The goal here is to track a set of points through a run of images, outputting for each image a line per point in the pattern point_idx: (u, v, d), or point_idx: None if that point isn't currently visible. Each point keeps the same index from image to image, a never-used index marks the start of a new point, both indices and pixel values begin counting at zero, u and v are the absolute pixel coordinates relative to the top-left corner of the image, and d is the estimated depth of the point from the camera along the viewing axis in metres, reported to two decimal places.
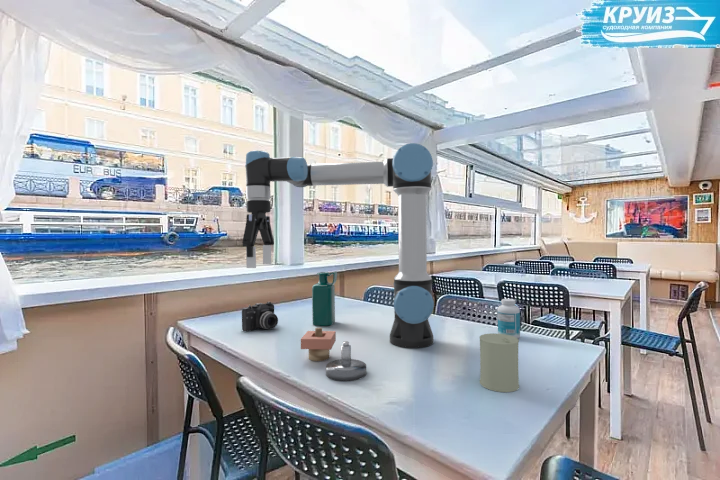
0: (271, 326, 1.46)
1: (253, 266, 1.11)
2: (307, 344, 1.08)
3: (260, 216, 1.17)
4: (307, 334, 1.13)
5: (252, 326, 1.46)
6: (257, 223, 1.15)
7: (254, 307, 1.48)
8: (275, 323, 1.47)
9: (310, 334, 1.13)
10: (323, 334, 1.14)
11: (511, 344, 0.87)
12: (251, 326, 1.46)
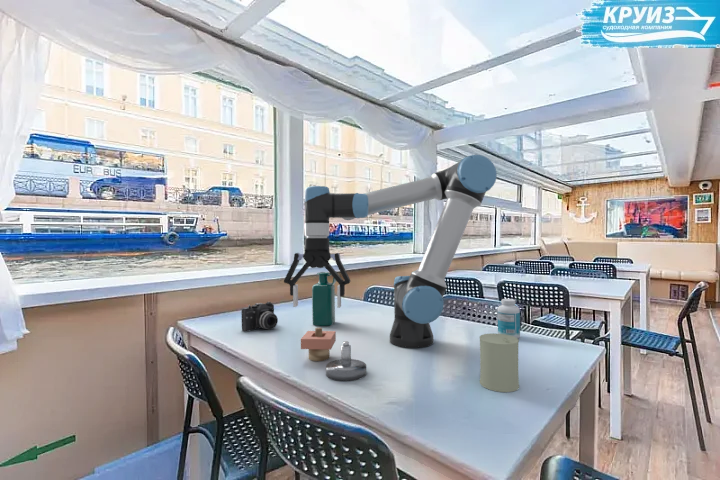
0: (271, 326, 1.46)
1: None
2: (307, 344, 1.08)
3: (311, 254, 1.11)
4: (307, 334, 1.13)
5: (252, 326, 1.46)
6: None
7: (254, 307, 1.48)
8: (275, 323, 1.47)
9: (310, 334, 1.13)
10: (323, 334, 1.14)
11: (511, 344, 0.87)
12: (251, 326, 1.46)
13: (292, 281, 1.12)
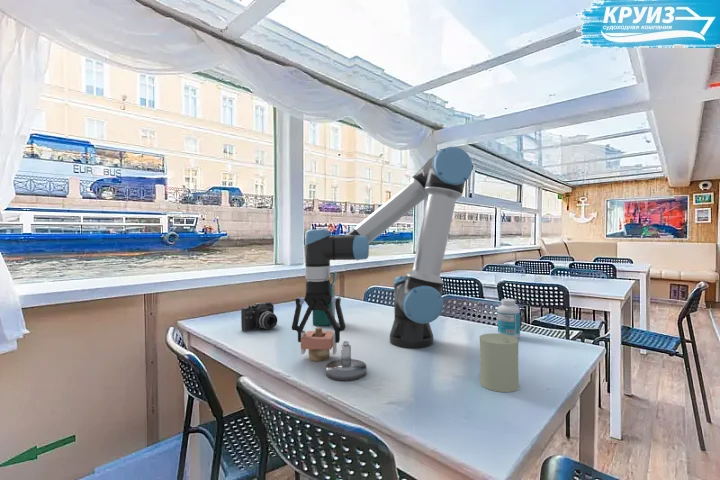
0: (270, 326, 1.46)
1: None
2: (307, 344, 1.08)
3: (312, 297, 1.11)
4: (307, 334, 1.13)
5: (251, 326, 1.46)
6: None
7: (253, 307, 1.48)
8: (274, 323, 1.47)
9: (310, 334, 1.13)
10: (323, 334, 1.14)
11: (511, 344, 0.87)
12: (250, 326, 1.46)
13: (299, 328, 1.12)
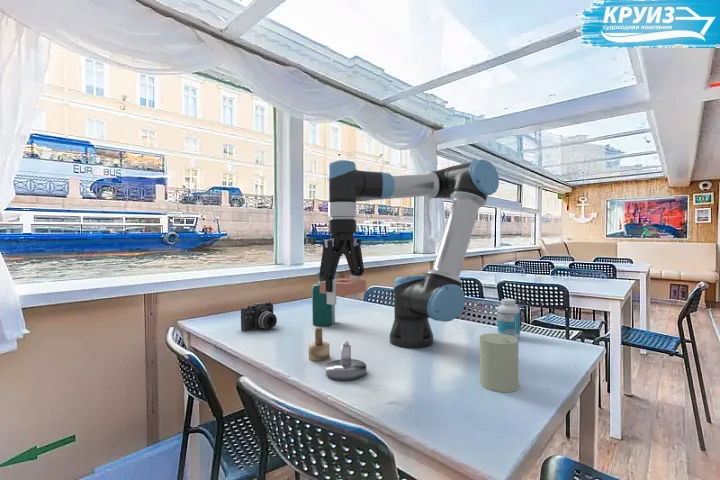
0: (270, 326, 1.46)
1: (333, 303, 0.95)
2: (350, 289, 0.95)
3: (341, 238, 0.98)
4: None
5: (251, 326, 1.47)
6: (338, 248, 0.97)
7: (253, 307, 1.48)
8: (274, 323, 1.48)
9: (337, 282, 0.98)
10: (339, 281, 1.02)
11: (511, 344, 0.87)
12: (250, 326, 1.46)
13: (332, 274, 0.94)
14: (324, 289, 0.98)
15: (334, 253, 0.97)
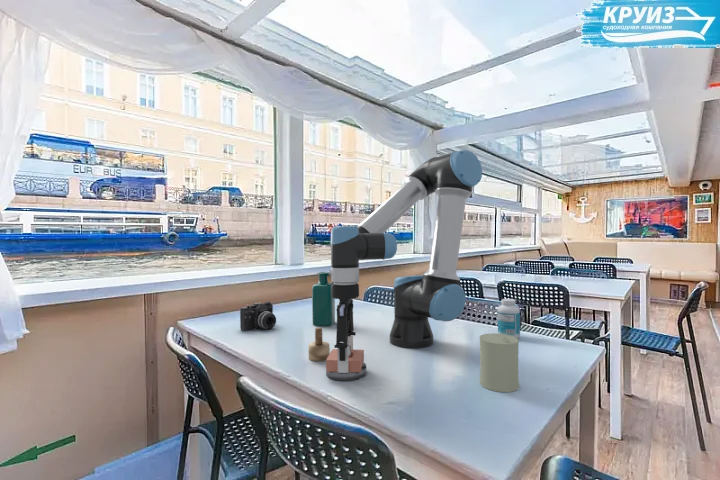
0: (269, 326, 1.46)
1: (346, 371, 0.94)
2: (361, 363, 0.97)
3: (348, 303, 0.97)
4: None
5: (250, 325, 1.47)
6: (346, 314, 0.96)
7: (252, 307, 1.49)
8: (273, 323, 1.48)
9: None
10: None
11: (511, 344, 0.87)
12: (249, 325, 1.47)
13: (347, 342, 0.93)
14: (332, 367, 0.95)
15: None
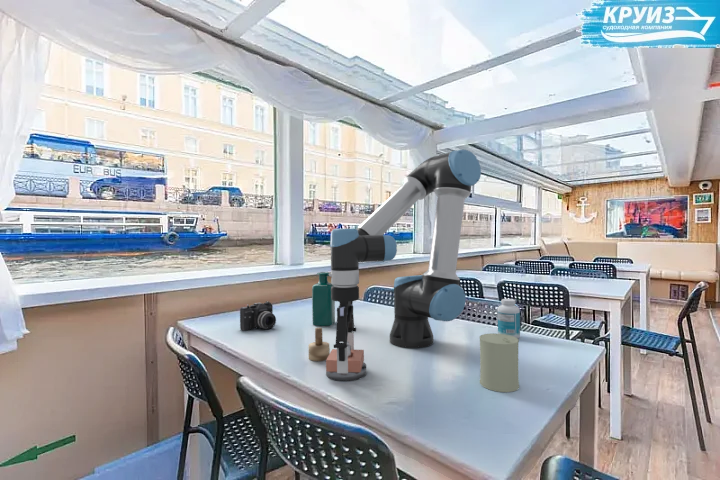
0: (269, 326, 1.46)
1: (345, 371, 0.92)
2: (361, 363, 0.97)
3: (348, 305, 0.98)
4: None
5: (250, 325, 1.47)
6: (346, 315, 0.96)
7: (252, 307, 1.49)
8: (273, 323, 1.48)
9: None
10: None
11: (511, 344, 0.87)
12: (249, 325, 1.47)
13: (346, 342, 0.92)
14: (332, 367, 0.95)
15: None
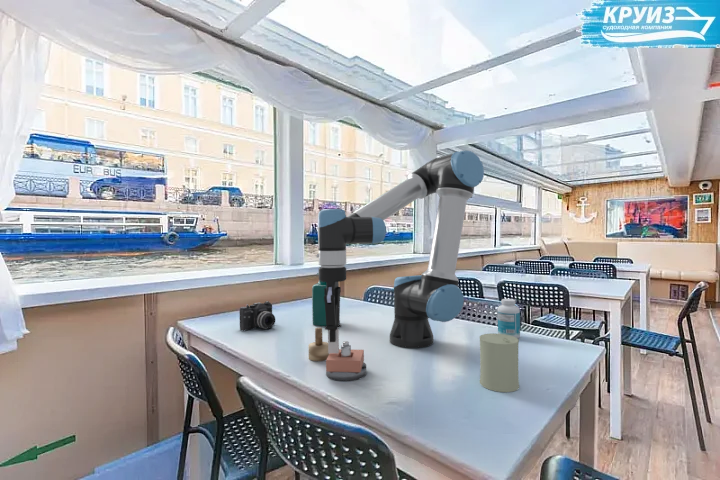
0: (268, 325, 1.47)
1: (336, 351, 0.99)
2: (361, 363, 0.97)
3: (335, 288, 0.97)
4: (342, 359, 0.96)
5: (250, 325, 1.47)
6: (334, 298, 0.98)
7: (252, 306, 1.49)
8: (272, 322, 1.48)
9: (344, 357, 0.97)
10: (339, 354, 1.01)
11: (511, 344, 0.87)
12: (249, 325, 1.47)
13: (336, 325, 0.98)
14: (332, 367, 0.95)
15: None
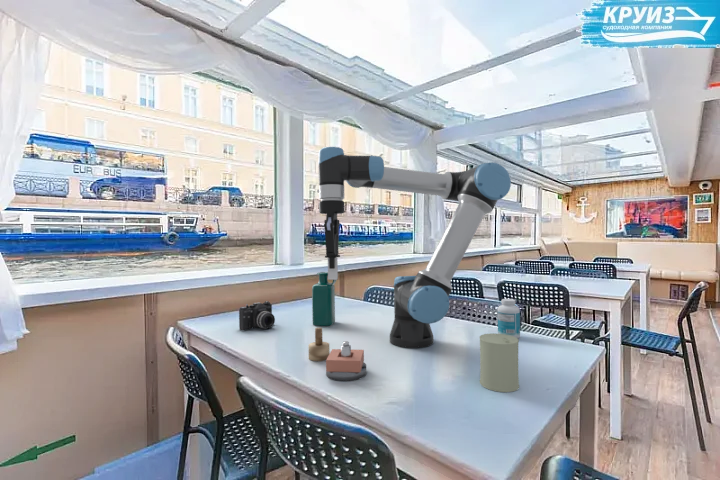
0: (268, 325, 1.47)
1: (335, 278, 1.09)
2: (361, 363, 0.97)
3: (334, 219, 1.07)
4: (342, 359, 0.96)
5: (249, 325, 1.47)
6: (333, 228, 1.07)
7: (251, 306, 1.49)
8: (272, 322, 1.48)
9: (344, 357, 0.97)
10: (339, 354, 1.01)
11: (511, 344, 0.87)
12: (248, 325, 1.47)
13: (335, 253, 1.08)
14: (332, 367, 0.95)
15: None
